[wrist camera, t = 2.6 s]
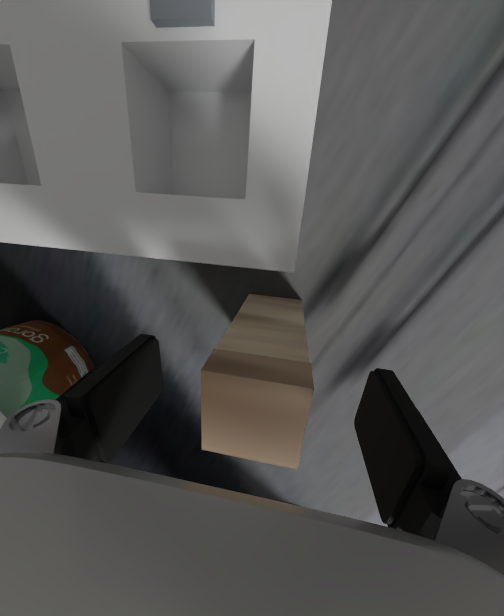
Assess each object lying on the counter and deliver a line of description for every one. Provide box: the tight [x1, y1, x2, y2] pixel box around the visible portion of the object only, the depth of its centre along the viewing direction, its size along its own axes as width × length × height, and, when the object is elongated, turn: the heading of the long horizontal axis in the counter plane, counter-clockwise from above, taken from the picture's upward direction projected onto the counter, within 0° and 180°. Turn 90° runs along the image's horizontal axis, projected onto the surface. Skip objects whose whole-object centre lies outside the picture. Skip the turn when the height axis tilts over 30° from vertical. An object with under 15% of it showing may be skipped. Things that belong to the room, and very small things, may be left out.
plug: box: [201, 294, 314, 469], centre depth 14 cm, size 4×4×10 cm
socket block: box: [0, 0, 332, 273], centre depth 13 cm, size 12×22×5 cm, turn 86°
